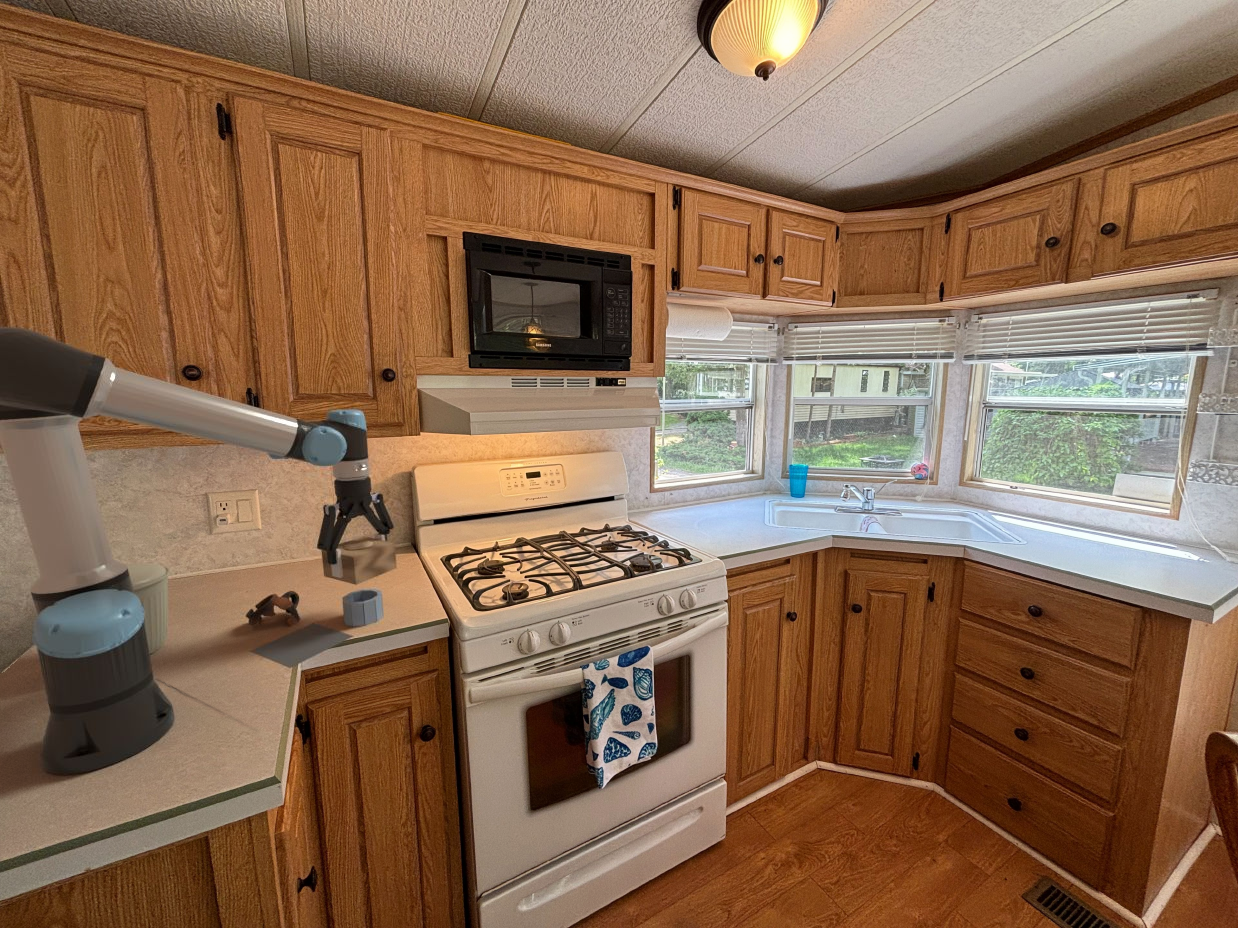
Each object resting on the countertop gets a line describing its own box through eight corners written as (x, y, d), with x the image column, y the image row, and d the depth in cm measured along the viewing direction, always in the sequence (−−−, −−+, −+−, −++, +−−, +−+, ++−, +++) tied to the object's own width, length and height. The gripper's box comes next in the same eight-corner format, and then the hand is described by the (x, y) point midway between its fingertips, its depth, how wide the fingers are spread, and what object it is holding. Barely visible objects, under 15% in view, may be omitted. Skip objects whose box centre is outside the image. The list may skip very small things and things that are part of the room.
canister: (169, 663, 103) (154, 565, 100) (43, 690, 95) (21, 583, 91) (190, 626, 119) (177, 539, 115) (83, 645, 110) (66, 552, 107)
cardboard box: (356, 584, 114) (353, 555, 112) (324, 576, 118) (321, 548, 117) (396, 568, 123) (394, 541, 122) (365, 560, 128) (363, 535, 127)
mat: (290, 669, 102) (290, 667, 102) (249, 652, 108) (249, 650, 108) (353, 637, 114) (353, 635, 114) (313, 624, 120) (313, 622, 120)
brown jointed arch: (287, 636, 116) (262, 610, 113) (257, 649, 118) (231, 624, 115) (318, 601, 127) (295, 576, 124) (290, 613, 129) (267, 590, 126)
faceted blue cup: (361, 630, 117) (359, 606, 116) (336, 622, 121) (333, 599, 120) (391, 615, 125) (389, 592, 124) (367, 608, 128) (365, 586, 127)
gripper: (313, 489, 105) (323, 589, 109) (405, 470, 126) (411, 554, 129) (290, 485, 108) (301, 582, 112) (384, 467, 129) (390, 550, 133)
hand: (360, 567), depth 121 cm, fingers closed on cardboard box, 11 cm apart
